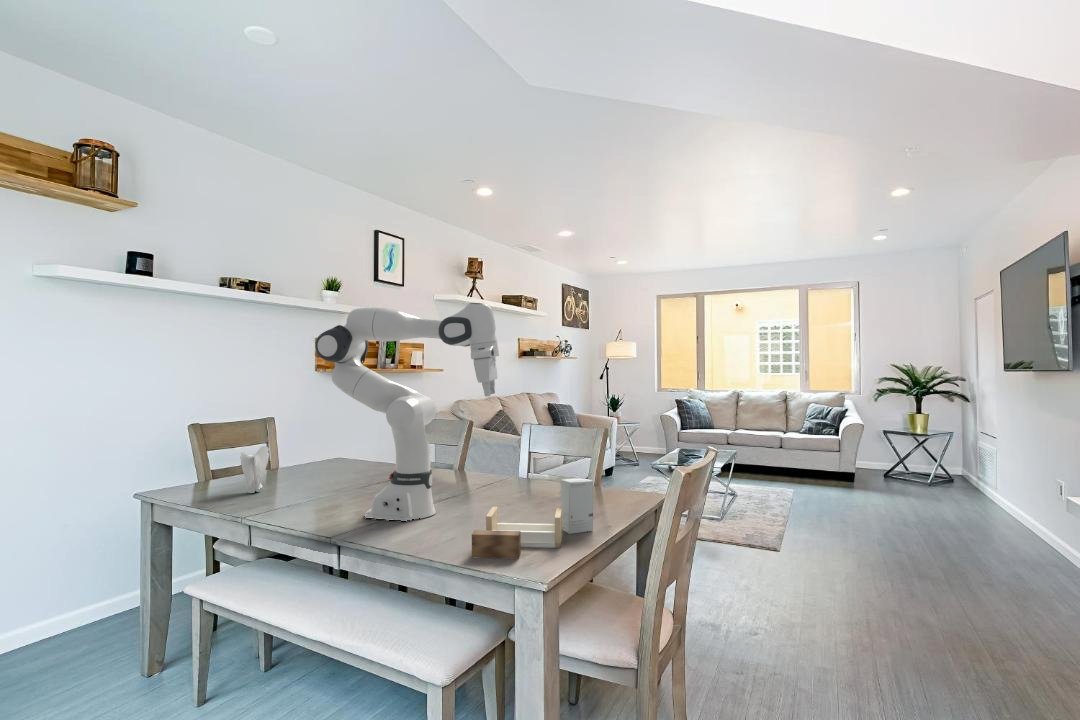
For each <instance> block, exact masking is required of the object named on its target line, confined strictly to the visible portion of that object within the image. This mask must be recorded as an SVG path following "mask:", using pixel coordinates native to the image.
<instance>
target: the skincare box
mask: <svg viewBox="0 0 1080 720" xmlns="http://www.w3.org/2000/svg"><path fill="white" fill-rule="evenodd" d="M560 508H562V532H565V533H566V534H567V535H575V534H580V533H586V532H587V531H588V532H593V531H594V480H592V479H588V478H585V477H580V478H579V477H577V478H565V479H560Z"/></svg>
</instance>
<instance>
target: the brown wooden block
mask: <svg viewBox="0 0 1080 720" xmlns="http://www.w3.org/2000/svg"><path fill="white" fill-rule="evenodd" d="M521 548H522V547H521V531H493V530H486V529H484V530H483V529H482V530H481V529H475V530H474V531H473V532H472V533H471V558H472V557H478V559H512V560H513V559H516V560H517V559H518V560H519V559H520V557H521V554H522V553H521V552H522V551H521ZM479 557H480V558H479Z"/></svg>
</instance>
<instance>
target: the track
mask: <svg viewBox="0 0 1080 720" xmlns="http://www.w3.org/2000/svg"><path fill="white" fill-rule="evenodd" d="M498 509H499V507H498V506H492V507H491V508H490V510H489V511H488V512H487V514H486V516H485V530H493V531H521V548H545V549H546V548H550V549H551V548H552V549H554V548H555V549H556V548H557V549H559V548H560V549H561V547H562V541H563V530H562V508H561V507H556V509H555V510H556V511H555V515H554V523H527V522H526V523H523V522H521V523H516V522H514V523H513V522H511V523H510V522H499V510H498Z"/></svg>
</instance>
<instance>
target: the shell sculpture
mask: <svg viewBox="0 0 1080 720" xmlns="http://www.w3.org/2000/svg"><path fill="white" fill-rule="evenodd" d="M269 449H270V448H269V447H268V446H267V445H261V447H259V449H258V450H257V452H256V453H253V454H247V453H246V452H244V451H241V452H240V454H241V455H240V465H241V469H242V472H243V475H244V478H245V479H244V480H245V481H246V488H245V490H246V489H247V490H252V489H254V490H256V489H260V488H262V487H263V488H264V486H263V485H262V480H263V478H264V475H265V473H266V468H267V466H268V464H269V457H270V453H269V451H270V450H269ZM254 487H255V488H254Z"/></svg>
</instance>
